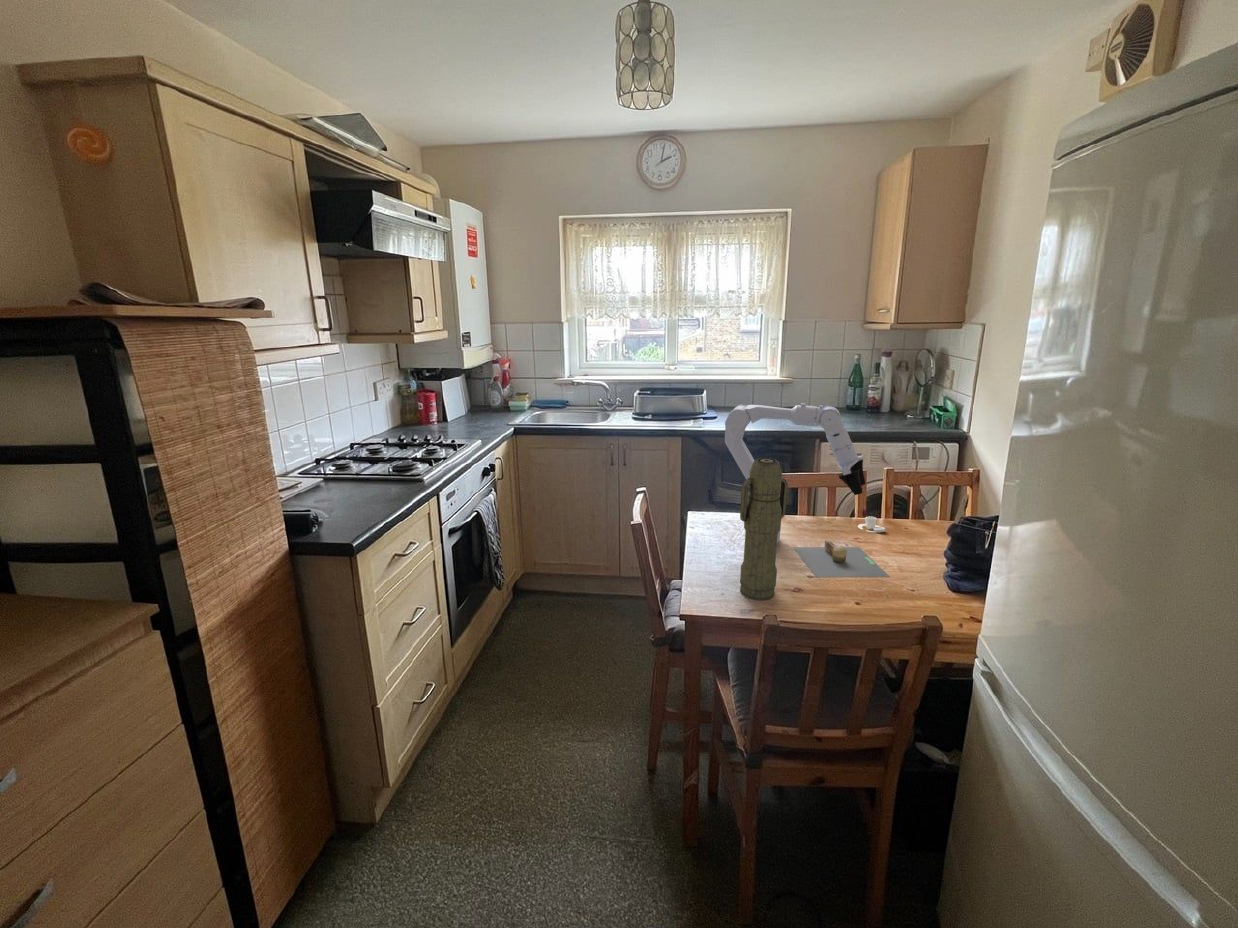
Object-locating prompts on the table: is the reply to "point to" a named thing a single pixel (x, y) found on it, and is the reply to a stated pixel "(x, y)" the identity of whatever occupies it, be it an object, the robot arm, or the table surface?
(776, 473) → the olive green tall cylinder
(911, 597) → the table surface
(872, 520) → the teacup and saucer
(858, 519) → the table surface
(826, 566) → the board
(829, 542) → the olive brown knobbed bar
